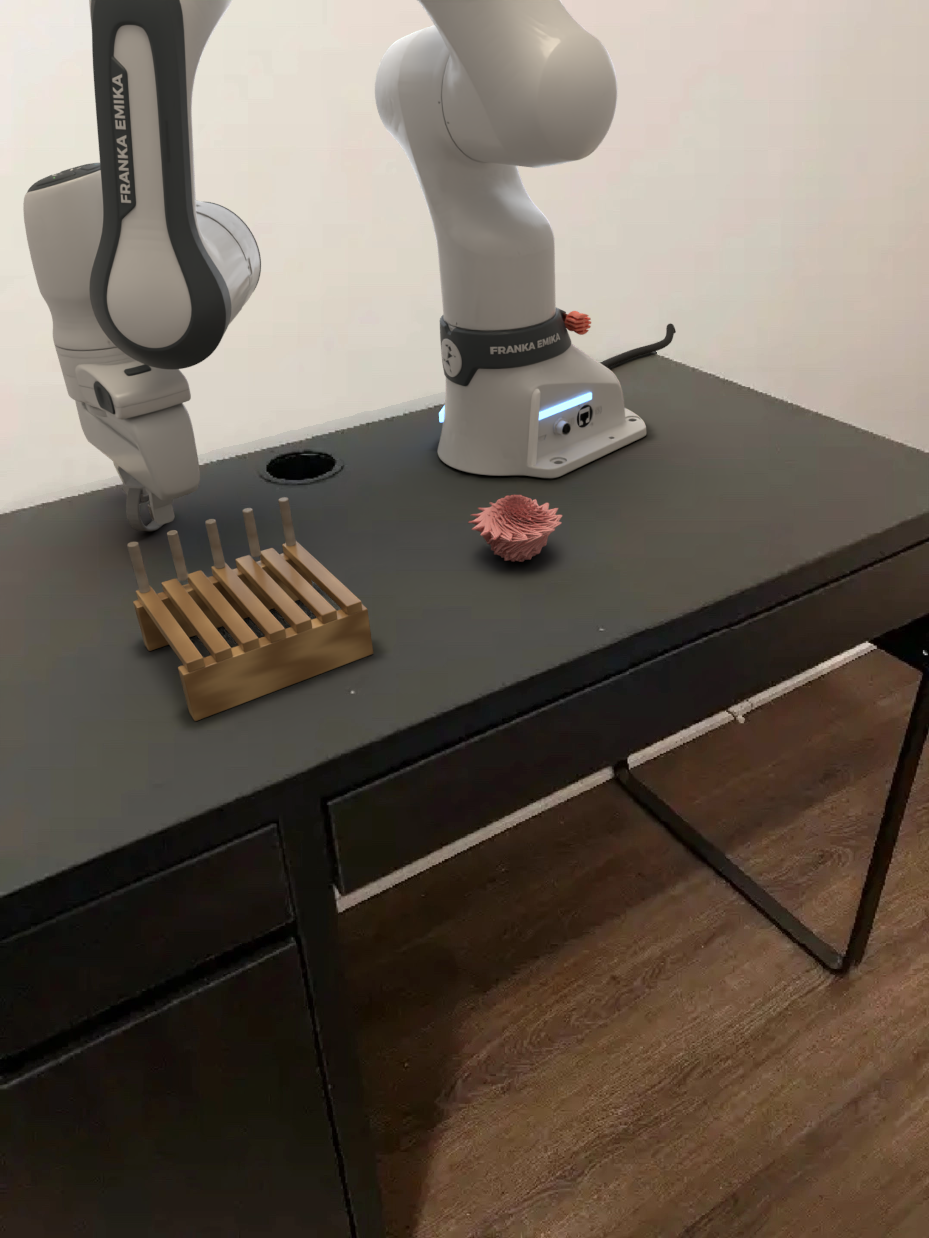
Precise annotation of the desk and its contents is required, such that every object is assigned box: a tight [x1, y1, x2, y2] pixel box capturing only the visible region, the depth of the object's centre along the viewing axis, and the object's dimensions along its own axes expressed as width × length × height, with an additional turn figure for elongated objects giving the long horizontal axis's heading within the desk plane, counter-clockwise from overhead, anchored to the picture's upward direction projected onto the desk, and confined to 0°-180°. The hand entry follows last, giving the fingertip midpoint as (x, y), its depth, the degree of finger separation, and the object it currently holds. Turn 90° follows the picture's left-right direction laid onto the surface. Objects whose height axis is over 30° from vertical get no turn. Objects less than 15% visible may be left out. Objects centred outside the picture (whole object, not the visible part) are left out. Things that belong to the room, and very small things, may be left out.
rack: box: [126, 496, 374, 722], centre depth 76 cm, size 14×12×9 cm
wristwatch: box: [121, 478, 164, 532], centre depth 97 cm, size 6×3×5 cm, turn 167°
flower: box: [467, 494, 563, 563], centre depth 87 cm, size 8×8×6 cm
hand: (151, 510), depth 97 cm, fingers open, 4 cm apart
